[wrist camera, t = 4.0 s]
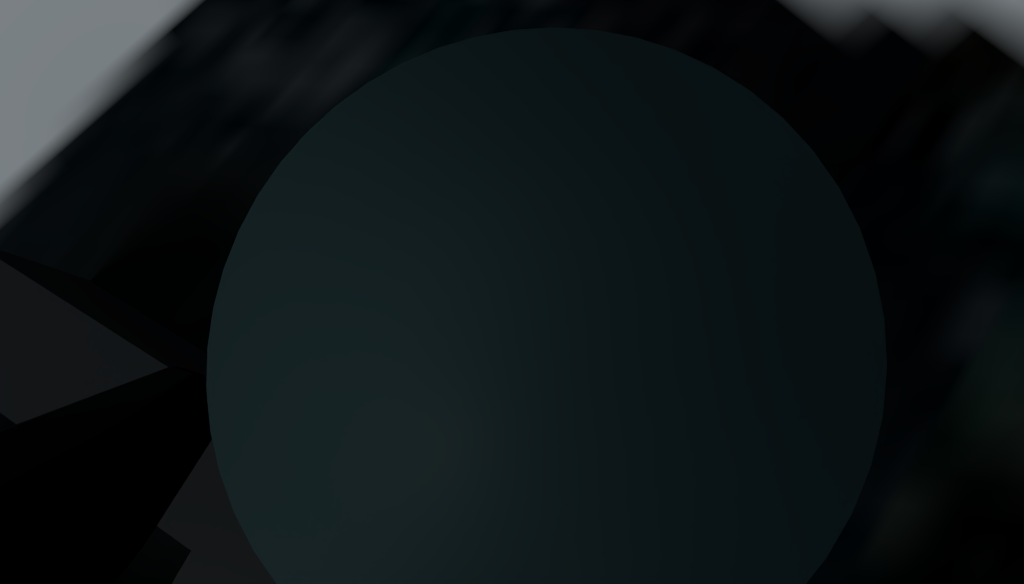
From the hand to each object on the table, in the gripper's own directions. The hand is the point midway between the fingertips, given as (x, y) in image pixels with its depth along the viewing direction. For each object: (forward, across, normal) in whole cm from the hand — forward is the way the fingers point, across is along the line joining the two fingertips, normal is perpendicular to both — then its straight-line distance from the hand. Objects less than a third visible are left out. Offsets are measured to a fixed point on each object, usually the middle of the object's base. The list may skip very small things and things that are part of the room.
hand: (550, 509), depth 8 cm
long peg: (+8, 0, +6) cm, 10 cm away
